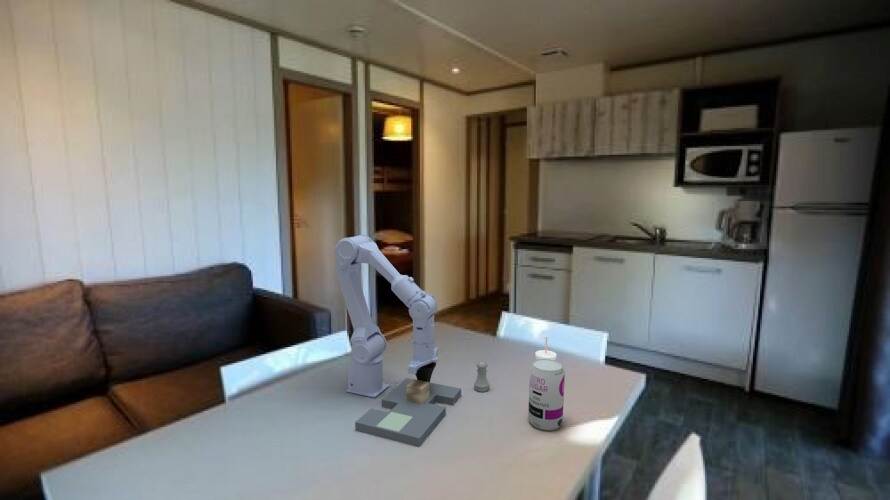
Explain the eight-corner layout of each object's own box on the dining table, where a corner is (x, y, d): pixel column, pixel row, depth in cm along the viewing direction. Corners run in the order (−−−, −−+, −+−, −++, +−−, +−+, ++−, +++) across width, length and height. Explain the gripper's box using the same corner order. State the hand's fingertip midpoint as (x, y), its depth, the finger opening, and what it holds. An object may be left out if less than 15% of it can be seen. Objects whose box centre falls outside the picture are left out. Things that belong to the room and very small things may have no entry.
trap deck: (355, 429, 103) (355, 422, 102) (406, 384, 126) (406, 377, 126) (419, 446, 96) (419, 438, 96) (461, 395, 120) (461, 388, 119)
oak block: (406, 400, 113) (406, 386, 112) (414, 393, 117) (414, 379, 116) (422, 403, 111) (422, 389, 110) (429, 396, 115) (429, 382, 114)
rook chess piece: (488, 393, 121) (489, 366, 120) (472, 391, 122) (473, 364, 121) (490, 386, 125) (490, 359, 124) (474, 384, 126) (475, 358, 125)
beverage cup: (532, 385, 126) (533, 339, 124) (536, 376, 131) (537, 332, 129) (553, 389, 124) (555, 342, 122) (556, 380, 129) (558, 335, 127)
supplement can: (563, 417, 108) (565, 360, 106) (561, 434, 101) (563, 373, 99) (530, 411, 111) (532, 356, 109) (526, 428, 103) (527, 369, 101)
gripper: (425, 352, 107) (426, 403, 109) (447, 334, 120) (447, 380, 122) (400, 348, 110) (401, 398, 112) (425, 331, 123) (425, 376, 125)
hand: (424, 388), depth 117 cm, fingers closed
